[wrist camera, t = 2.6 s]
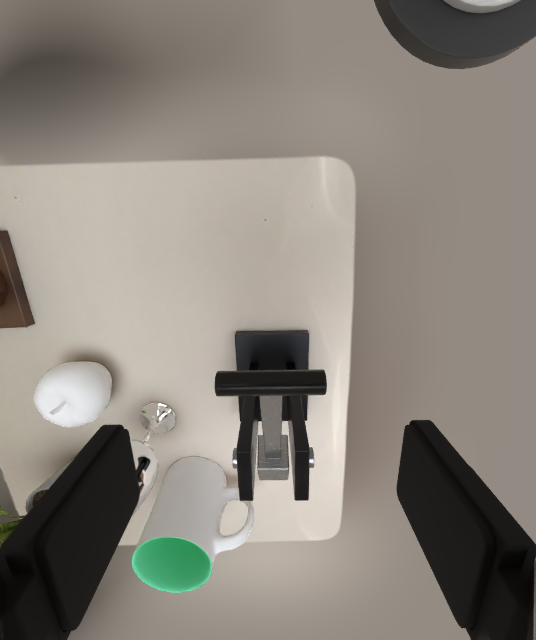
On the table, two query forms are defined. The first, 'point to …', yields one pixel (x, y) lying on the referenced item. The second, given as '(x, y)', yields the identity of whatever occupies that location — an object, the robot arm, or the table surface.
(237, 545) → the mug
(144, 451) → the wineglass
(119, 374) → the table surface
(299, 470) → the bracket
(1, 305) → the button block
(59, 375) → the plain white apple
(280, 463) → the lever
